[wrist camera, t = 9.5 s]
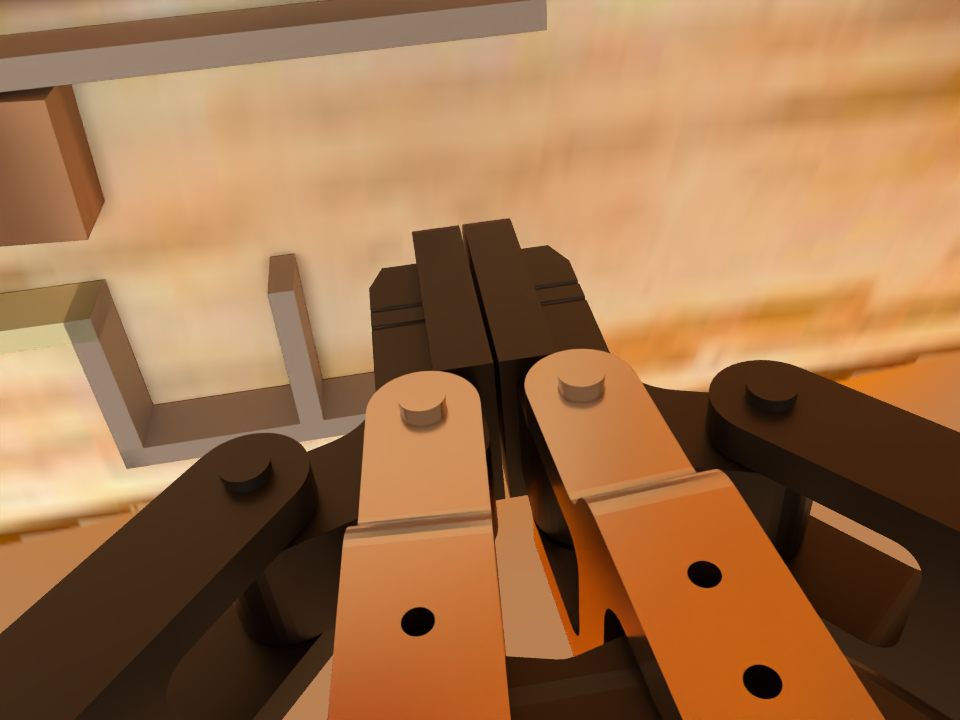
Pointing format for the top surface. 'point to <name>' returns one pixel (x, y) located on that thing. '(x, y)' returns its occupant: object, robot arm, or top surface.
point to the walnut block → (45, 169)
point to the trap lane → (308, 400)
